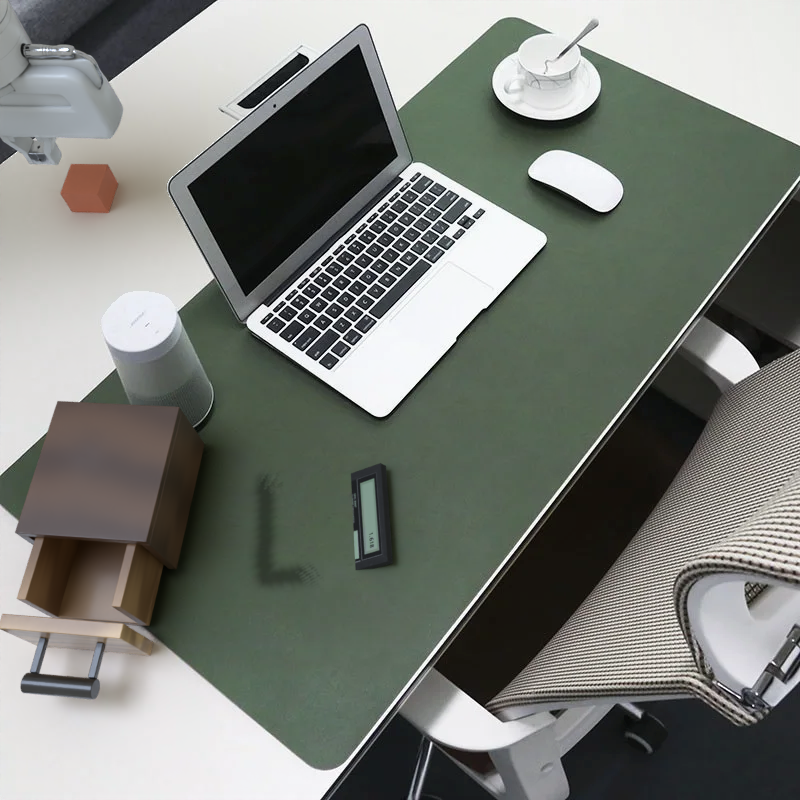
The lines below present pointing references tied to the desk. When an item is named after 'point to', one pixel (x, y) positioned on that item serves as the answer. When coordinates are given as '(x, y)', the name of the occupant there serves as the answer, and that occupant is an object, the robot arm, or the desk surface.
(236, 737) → the desk surface
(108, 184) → the block
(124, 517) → the cabinet
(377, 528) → the calculator
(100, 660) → the drawer
